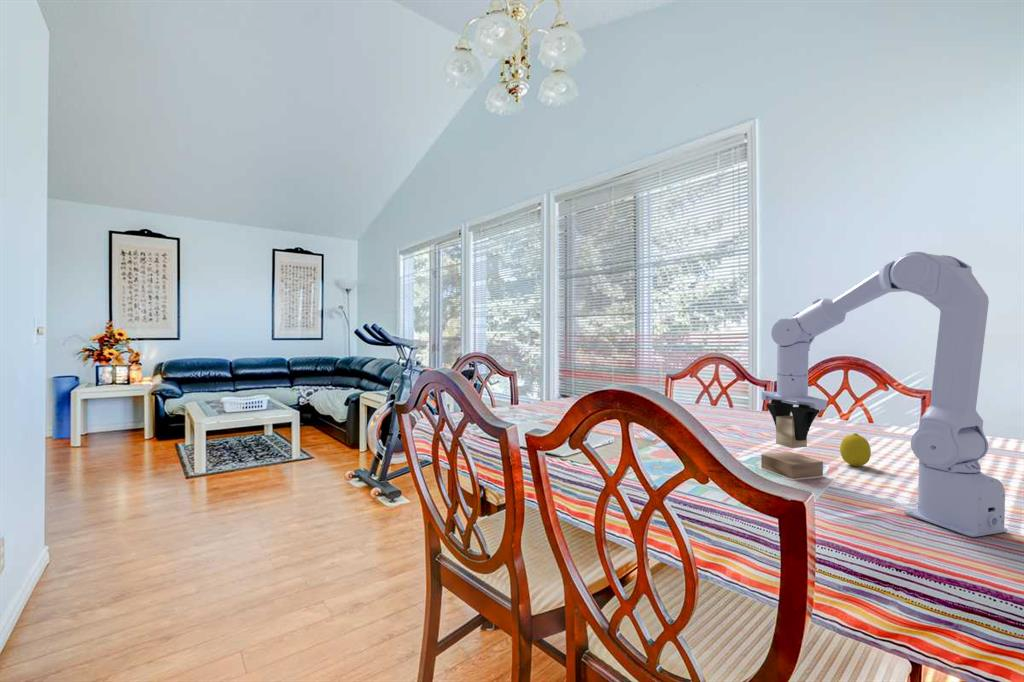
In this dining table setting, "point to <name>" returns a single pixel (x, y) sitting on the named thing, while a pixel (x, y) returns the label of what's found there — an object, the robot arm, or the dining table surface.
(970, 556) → the dining table surface
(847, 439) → the lemon
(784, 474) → the walnut slab
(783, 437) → the maple pillar
